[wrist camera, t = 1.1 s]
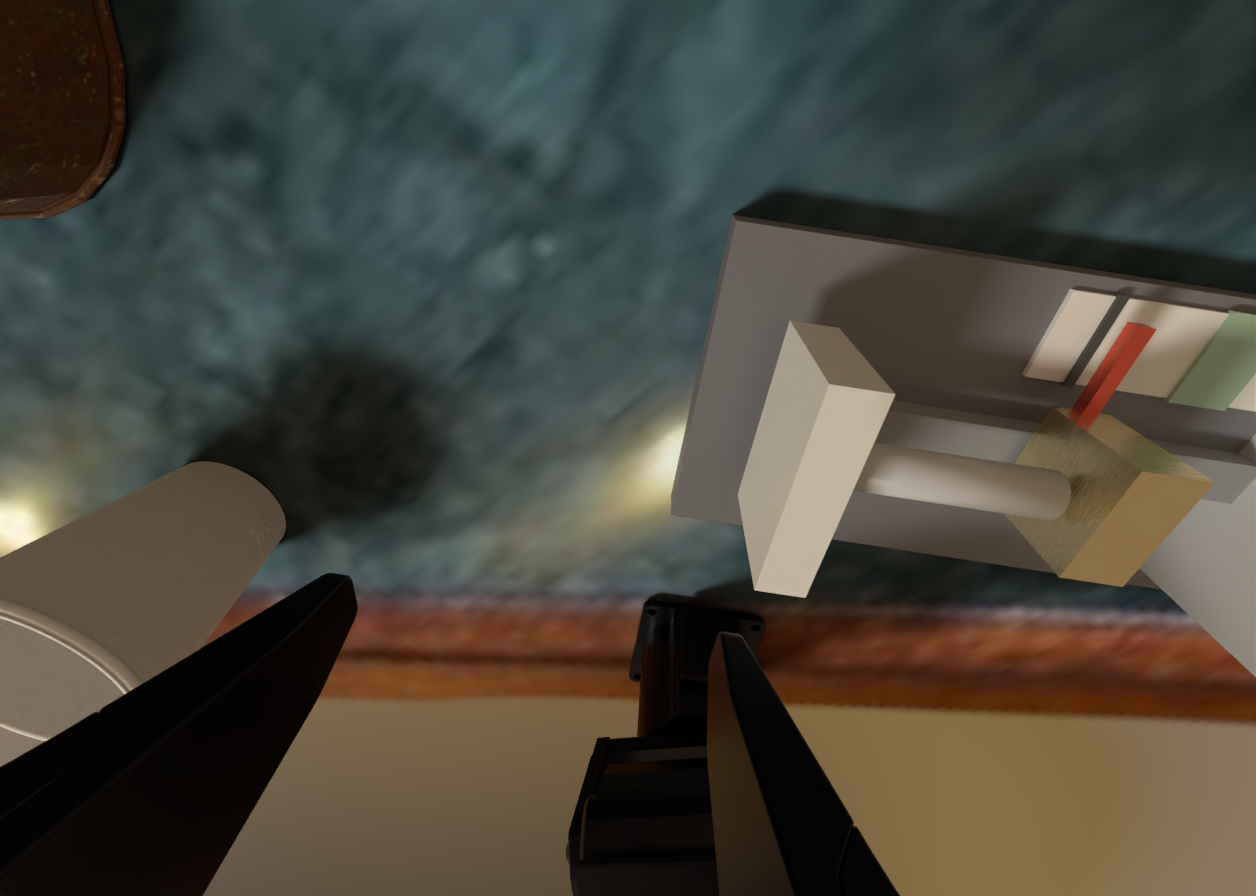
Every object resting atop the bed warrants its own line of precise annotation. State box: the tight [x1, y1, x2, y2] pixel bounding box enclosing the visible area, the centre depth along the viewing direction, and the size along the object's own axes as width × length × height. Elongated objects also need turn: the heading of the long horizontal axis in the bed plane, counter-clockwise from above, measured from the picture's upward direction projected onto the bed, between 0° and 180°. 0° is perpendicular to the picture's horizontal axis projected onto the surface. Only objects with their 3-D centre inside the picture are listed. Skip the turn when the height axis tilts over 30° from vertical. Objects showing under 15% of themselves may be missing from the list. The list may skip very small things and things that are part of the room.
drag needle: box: [1005, 322, 1215, 587], centre depth 16 cm, size 7×2×4 cm, turn 173°
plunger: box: [738, 320, 1071, 598], centre depth 16 cm, size 7×9×5 cm
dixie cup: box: [0, 461, 286, 741], centre depth 22 cm, size 8×8×10 cm
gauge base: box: [671, 215, 1256, 677], centre depth 17 cm, size 12×24×8 cm, turn 83°
